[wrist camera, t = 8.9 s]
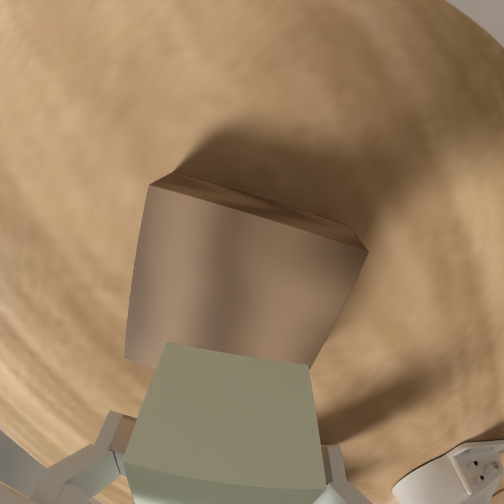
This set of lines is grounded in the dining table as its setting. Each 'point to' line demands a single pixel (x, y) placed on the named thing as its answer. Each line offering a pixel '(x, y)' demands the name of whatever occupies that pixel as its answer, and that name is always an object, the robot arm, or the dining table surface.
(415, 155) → the dining table surface
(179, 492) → the sage cube
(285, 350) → the walnut block
